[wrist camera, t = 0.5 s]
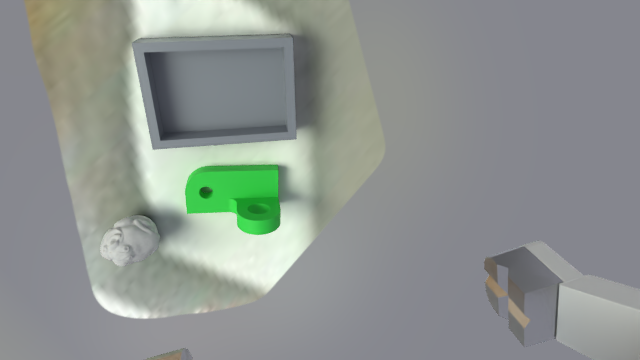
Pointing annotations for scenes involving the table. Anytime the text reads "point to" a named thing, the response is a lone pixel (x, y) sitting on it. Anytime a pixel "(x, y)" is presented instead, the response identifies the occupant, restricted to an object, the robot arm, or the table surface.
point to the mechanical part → (237, 195)
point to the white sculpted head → (130, 240)
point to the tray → (217, 89)
